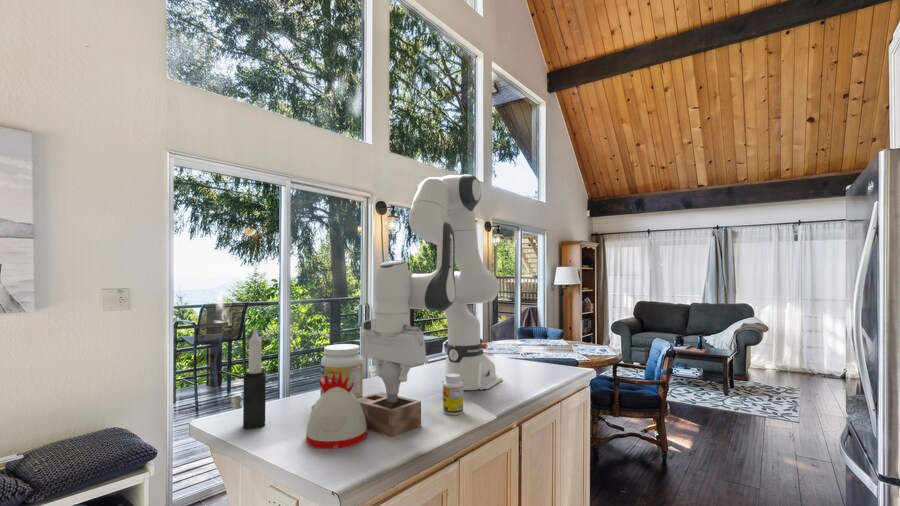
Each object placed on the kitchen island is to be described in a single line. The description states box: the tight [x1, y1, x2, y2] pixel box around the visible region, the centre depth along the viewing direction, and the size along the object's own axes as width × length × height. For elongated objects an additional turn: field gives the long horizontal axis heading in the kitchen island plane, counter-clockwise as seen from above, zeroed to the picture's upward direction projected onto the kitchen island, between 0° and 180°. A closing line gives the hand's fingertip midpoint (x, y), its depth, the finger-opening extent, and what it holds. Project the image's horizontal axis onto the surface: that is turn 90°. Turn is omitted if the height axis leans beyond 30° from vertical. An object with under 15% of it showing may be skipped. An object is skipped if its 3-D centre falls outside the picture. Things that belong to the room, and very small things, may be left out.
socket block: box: [357, 391, 422, 438], centre depth 112 cm, size 10×15×6 cm, turn 51°
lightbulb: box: [380, 361, 402, 404], centre depth 111 cm, size 6×6×11 cm
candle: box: [242, 326, 267, 430], centre depth 113 cm, size 5×5×25 cm
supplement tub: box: [320, 343, 364, 398], centre depth 130 cm, size 12×12×17 cm
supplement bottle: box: [442, 374, 464, 416], centre depth 122 cm, size 6×6×10 cm
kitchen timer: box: [305, 373, 368, 450], centre depth 104 cm, size 14×14×15 cm
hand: (392, 379), depth 111 cm, fingers closed on lightbulb, 6 cm apart
